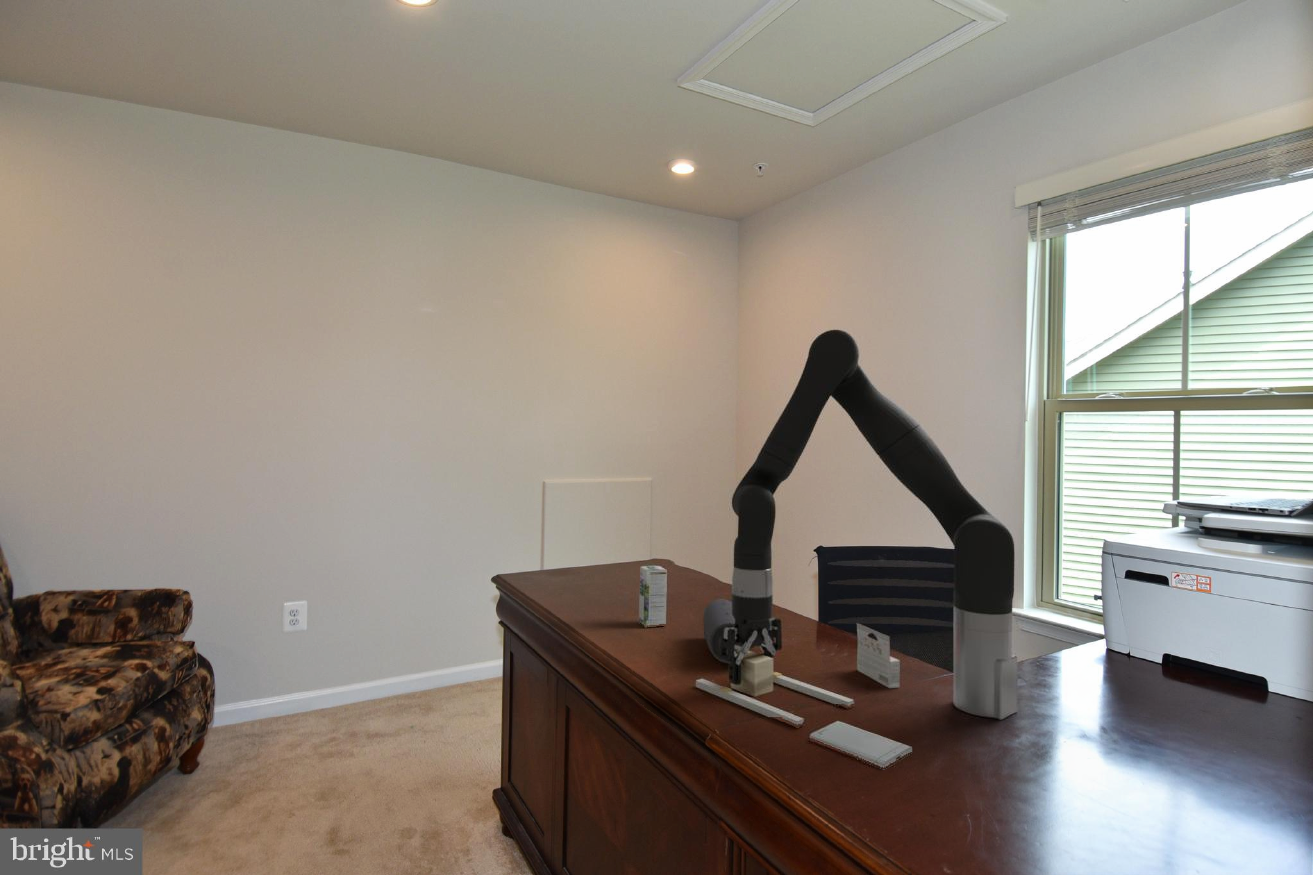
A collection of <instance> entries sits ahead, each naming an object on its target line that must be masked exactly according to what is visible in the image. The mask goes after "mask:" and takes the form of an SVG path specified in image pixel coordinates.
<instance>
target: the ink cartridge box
mask: <svg viewBox="0 0 1313 875" xmlns="http://www.w3.org/2000/svg"><path fill="white" fill-rule="evenodd" d="M856 633H857V652H856V654H857V656H856V658H857V660H856V671H858V672H859V673H862V674H863V675H865V676H866V677H868V678H870V679H872V680H874V681H876V682H877V683H879V684H881V685H882V686H885V687H887V688H889V689H896V688H898V689H899V688H900V665H901V664H900V663H901V661H900V660H899V659H897V658H895V657H893V656H891V642H890V641H891V638H890V636H889V635H886V634H884V633H881V632H879V631H877V630H875V629H872V628H870V627H868V626H865V625H863V624H861V623H858V622H856ZM870 634H873V635H874V636H875V637H876V639H874V638H872V637H870V636H869V635H870Z"/></svg>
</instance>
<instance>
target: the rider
mask: <svg viewBox="0 0 1313 875" xmlns="http://www.w3.org/2000/svg"><path fill="white" fill-rule="evenodd" d="M736 656H737V654H735V657H736ZM740 664H741V684H739V685H735V684H733V683H731V682H730V689H732V690H733V689H734V690H736V691H739V692H741V693H745V694H747V695H750V696H751V697H754V698H755V697H758V696H762V695H764V694H767V693H770V692H774V682H773V672H774V657H773V658H770V657H767V656H764V655H763V653H758V652H754V651H751V650H749V651H748V653H747V654H745V655H744V656H743V659H742V661H741V663H740Z"/></svg>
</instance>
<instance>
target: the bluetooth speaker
mask: <svg viewBox="0 0 1313 875" xmlns="http://www.w3.org/2000/svg"><path fill="white" fill-rule="evenodd" d="M702 622H703V635H704V639H705V641H706V643H707V646H708V649H709V651H710V652H711V654H712V655H713V656H714V658H715V659H717V660H718V661H720V662H721V663H724V664H729V663H728V662H726V661H724V660H721V659H720V643H721V629H722V627H727V628H732V627H734V624H735V619H734V617H733V615H732V601H731V600H728V599H725V598H717V599H714V600H712V601H711V602H709V604H707V606H706V607H705V609H704V611H703V618H702ZM738 646H740V647H742V645H741V644H740V643H739V644H738ZM726 654H728V649H727V652H726ZM736 654H738V652H736Z"/></svg>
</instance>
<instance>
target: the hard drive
mask: <svg viewBox="0 0 1313 875" xmlns="http://www.w3.org/2000/svg"><path fill="white" fill-rule="evenodd" d="M809 737H810V738H813V739H815V740H818V741H820V742H823V743H824V744H827V745H830V746H832V747H835V748H837V749H840V750H842V751H845V752H847V753H850V754H853V755H854V756H858V757H859V758H862V759H864V760H866V761H869V762H871V763H874V764H875V765H878V766H880V767H883V768H884V767H886V766H888V765H889V764H890V763H893V762H895V761H896V760H898V758H901V757H902V756H904V755H906V754H908V753H910V752H912V753H913V746H910V745H907V744H904V743H901V742H899V741H896V740H892V739H891V738H888V737H885V736H881V735H879V734H876V733H874V732H870V731H868V730H865V729H862V728H859V727H856V726H854V725H851V724H848V723H846V722H842V721H839V720H836V721H835V722H833V723H830V724H828V725H826V726H824V727H821V728H820V729H817V730H816V731H813V732H811V733H810V735H809Z"/></svg>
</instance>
